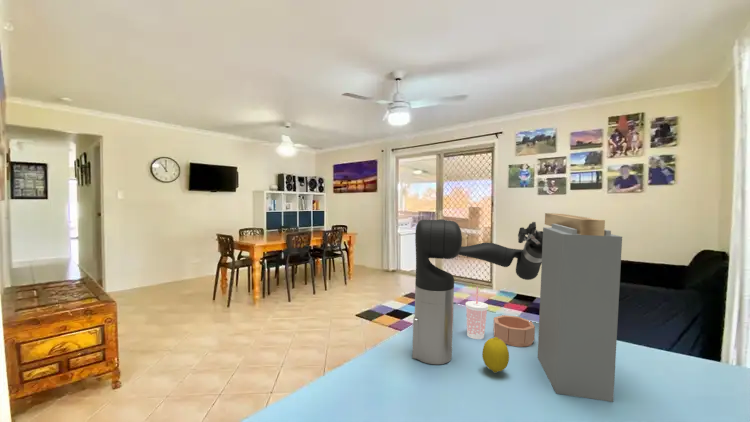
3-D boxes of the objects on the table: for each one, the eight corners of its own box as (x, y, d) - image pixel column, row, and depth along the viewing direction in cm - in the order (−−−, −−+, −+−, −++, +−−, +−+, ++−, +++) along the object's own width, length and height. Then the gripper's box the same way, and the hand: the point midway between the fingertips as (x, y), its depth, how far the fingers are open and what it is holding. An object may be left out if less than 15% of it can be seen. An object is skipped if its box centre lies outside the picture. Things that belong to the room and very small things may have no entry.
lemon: (510, 380, 69) (512, 344, 69) (483, 377, 71) (484, 341, 70) (505, 367, 75) (507, 333, 74) (480, 364, 76) (481, 331, 76)
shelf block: (556, 393, 65) (563, 229, 64) (537, 357, 80) (543, 223, 78) (613, 401, 63) (622, 231, 61) (583, 363, 77) (590, 224, 76)
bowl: (496, 344, 87) (496, 327, 87) (491, 329, 96) (492, 314, 96) (537, 349, 84) (537, 331, 84) (528, 333, 94) (529, 317, 94)
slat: (580, 234, 63) (581, 219, 63) (544, 224, 88) (545, 213, 88) (604, 235, 62) (604, 220, 62) (560, 224, 87) (561, 213, 87)
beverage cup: (480, 330, 95) (482, 283, 95) (491, 340, 89) (493, 289, 89) (460, 331, 94) (462, 283, 94) (469, 340, 88) (471, 289, 88)
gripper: (513, 235, 106) (522, 212, 92) (561, 237, 103) (579, 214, 89) (514, 257, 103) (524, 236, 89) (564, 260, 99) (583, 239, 85)
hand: (551, 225), depth 89 cm, fingers open, 8 cm apart
